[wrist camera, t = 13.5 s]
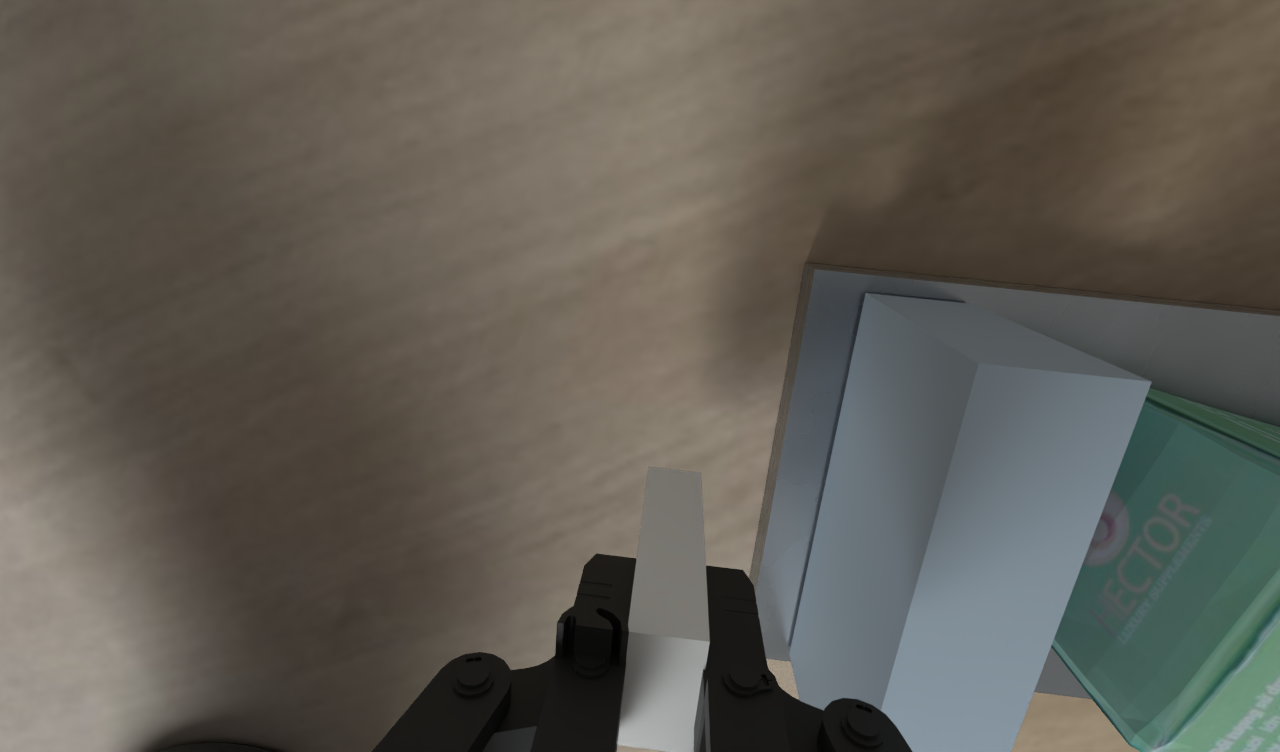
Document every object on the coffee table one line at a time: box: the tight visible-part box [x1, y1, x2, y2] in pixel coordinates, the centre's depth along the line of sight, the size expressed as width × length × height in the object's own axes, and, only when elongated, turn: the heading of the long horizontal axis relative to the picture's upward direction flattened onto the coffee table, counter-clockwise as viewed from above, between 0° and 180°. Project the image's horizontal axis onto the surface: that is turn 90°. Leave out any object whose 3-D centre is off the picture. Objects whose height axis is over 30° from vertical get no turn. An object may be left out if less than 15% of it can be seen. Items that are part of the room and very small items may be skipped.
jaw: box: [789, 293, 1152, 752], centre depth 16 cm, size 3×13×7 cm, turn 175°
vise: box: [749, 263, 1280, 699], centre depth 17 cm, size 26×14×8 cm, turn 85°
